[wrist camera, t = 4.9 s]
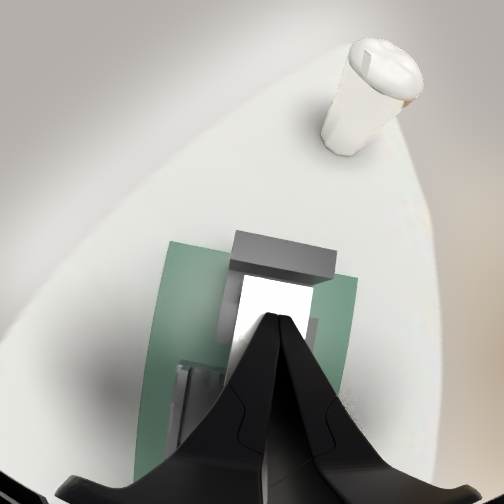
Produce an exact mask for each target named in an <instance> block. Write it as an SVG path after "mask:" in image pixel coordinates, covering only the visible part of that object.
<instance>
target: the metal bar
mask: <svg viewBox="0 0 504 504" xmlns="http://www.w3.org/2000/svg"><path fill="white" fill-rule="evenodd" d="M312 292H313V288H310V287H305V286H299V285H294V284H288V283H283V282H278V281H272V280H267V279H262V278H256V277H251V276H246V275H245V277H244V278H243V280H242V282H241V287H240V292H239V296H240V301H239V307H238V312H237V318H236V323H235V328H234V334H233V339H232V344H231V350H230V355H229V361H228V366H227V372H226V377H225V382H224V386H225V385H226V384H227V381H228V380H229V378H230V376H231V374H232V372H233V371H234V369H235V367H236V365H237V363H238V362H239V360H240V358H241V356H242V354H243V352H244V351H245V349H246V347H247V345H248V343H249V341H250V340H251V338H252V336H253V334H254V332H255V330H256V328H257V326H258V325H259V323H260V321H261V319H262V317H263V315H264V313H265V312H272V313H277V314H284V315H289V316H291V317H292V319H293V321H294V322H295V324H296V326H297V328H298V329H299V331H300V333H301V334H302V336H303V338H304V339H305V335H306V329H307V323H308V317H309V311H310V305H311V299H312ZM262 488H263V503H264V504H266V503H267V489H268V488H267V438H266V445H265V451H264V455H263V463H262Z"/></svg>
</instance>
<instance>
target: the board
mask: <svg viewBox="0 0 504 504" xmlns="http://www.w3.org/2000/svg"><path fill="white" fill-rule="evenodd" d="M230 258H231V253H227V252H222V251H217V250H212V249H207V248H202V247H197V246H192V245H187V244H182V243H177V242H172V241H170V243H169V247H168V252H167V256H166V260H165V265H164V269H163V274H162V278H161V283H160V288H159V293H158V297H157V302H156V308H155V313H154V318H153V324H152V329H151V335H150V341H149V347H148V353H147V359H146V366H145V372H144V379H143V387H142V394H141V402H140V411H139V420H138V429H137V440H136V452H135V466H134V482H135V481H137V480H138V479H139V478H141V477H142V476H144V475H145V474H146V473H148V472H149V471H151V470H152V469H153V468H155V467H156V466H157V465H159V464H160V463H161V462H163V461H164V453H165V445H166V437H167V429H168V422H169V415H170V408H171V401H172V394H173V388H174V382H175V375H176V369H177V364H178V363H179V361H180V360H181V359H183V360H187V361H192V362H197V363H202V364H207V365H212V366H217V367H222V368H227V366H228V361H229V355H230V350H231V346H229V345H224V344H218V343H214V342H215V337H216V332H217V326H218V321H219V316H220V310H221V305H222V301H223V296H224V291H225V286H226V280H227V275H228V270H229V264H230ZM357 281H358V278H355V277H350V276H344V275H339V274H334V279H332V280H328V281H325V282H322V283H319V284H316V285H313V287H312V288H313V292H312V299H311V305H310V311H309V317H311V318H318V325H317V331H316V337H315V342H314V348H313V355H314V357H315V358H316V360H317V362H318V363H319V365H320V367H321V368H322V370H323V372H324V374H325V375H326V377H327V379H328V380H329V382H330V384H331V386H332V387H333V389H334V391H335V392H336V394H337V395H336V396H338V392H339V388H340V383H341V379H342V374H343V369H344V364H345V359H346V353H347V348H348V342H349V336H350V330H351V324H352V318H353V311H354V304H355V297H356V289H357Z"/></svg>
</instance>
